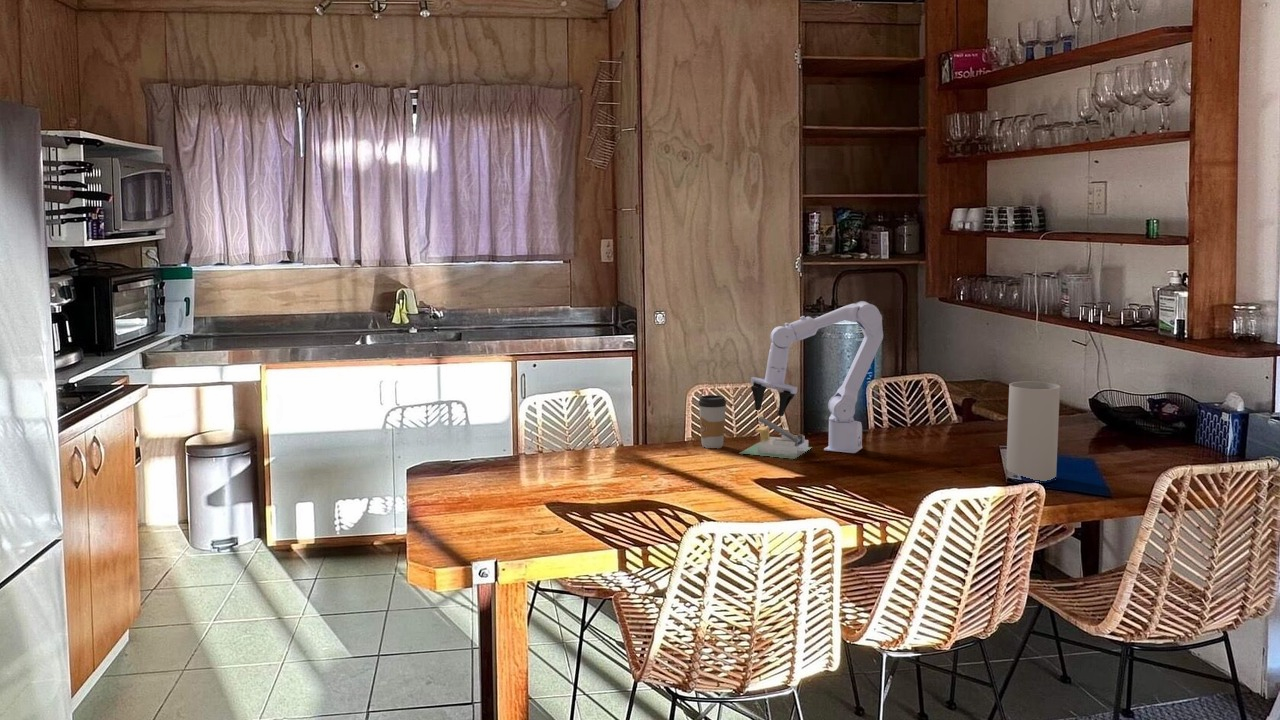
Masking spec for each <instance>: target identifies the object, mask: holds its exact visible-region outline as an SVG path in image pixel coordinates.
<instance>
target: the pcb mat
mask: <svg viewBox="0 0 1280 720" xmlns="http://www.w3.org/2000/svg"><path fill="white" fill-rule="evenodd" d="M758 443H759V442H757V443H755V444H753V445H752V446H749V447H748V448H746V449H744V450H742V451H740V452H739V453H738V454H739V455H743V454H750V455H749V456H753V455H760V456H759V457H763V456H770V457H769V458H773V457H779V458H778V459H783V458H789V459H788V460H793V459H795V458H796V459H798V458H799V456H798V458H797V457H790V456H780V455H770V454H760V453H758ZM811 448H812V449H814V448H813V447H812V446H808V450H809V451H811V450H812V449H811ZM810 449H811V450H810ZM806 453H808V452H807V451H806ZM806 453H805V452H804V454H806ZM801 456H803V455H802V454H801ZM796 459H795V460H796Z"/></svg>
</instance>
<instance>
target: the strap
mask: <svg viewBox="0 0 1280 720" xmlns="http://www.w3.org/2000/svg"><path fill="white" fill-rule="evenodd" d="M757 421H759V422H760V423H762V424H763V425H764V426H766V427H769V429H772V430H773V431H776V432H777V433H779V434H780V435H784V436H786V437H788V438H789V439H791V440H793V437H796V438H798V437H797V436H795V434H793V433H791V432H790V431H788V430H786V429H784V428H783V427H781V426H779V425H777V424H776V423H774V422H772V421H771V420H769V419H767V418H765V417H763V416H759V418H758V419H757ZM801 440H802V439H801V438H800V437H799V438H798V442H800V441H801Z"/></svg>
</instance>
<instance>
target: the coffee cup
mask: <svg viewBox="0 0 1280 720" xmlns="http://www.w3.org/2000/svg"><path fill="white" fill-rule="evenodd" d="M726 407H727V400H726V399H725V396H723V395H715V394H714V395H713V394H711V395H710V394H708V395H702V396H699V400H698V408H699V426H700V427H699V429H700V430H699V431H700V437H701V438H700V441H701V445H702V448H704V447H705V448H704V449H708V448H717V449H721V448H722V447H723V445H724V436H725V429H726V428H725V425H726Z"/></svg>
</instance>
